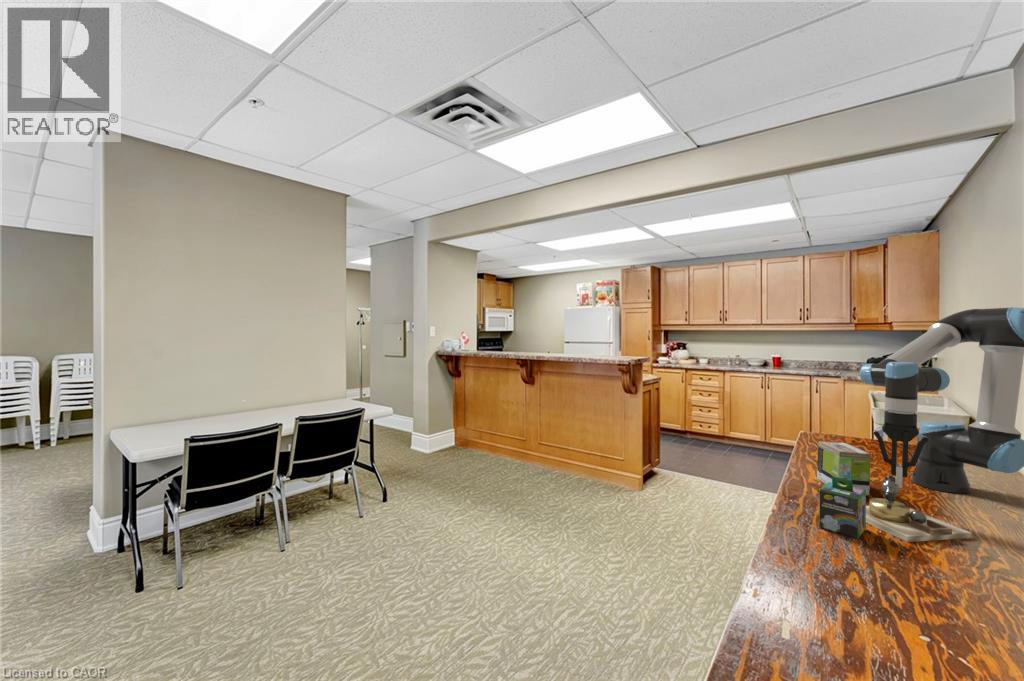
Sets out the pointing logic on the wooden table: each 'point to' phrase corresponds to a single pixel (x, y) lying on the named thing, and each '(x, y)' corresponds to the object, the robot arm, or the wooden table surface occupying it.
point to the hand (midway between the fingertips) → (898, 486)
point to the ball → (918, 517)
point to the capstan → (889, 503)
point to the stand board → (918, 529)
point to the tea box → (843, 464)
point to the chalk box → (842, 508)
